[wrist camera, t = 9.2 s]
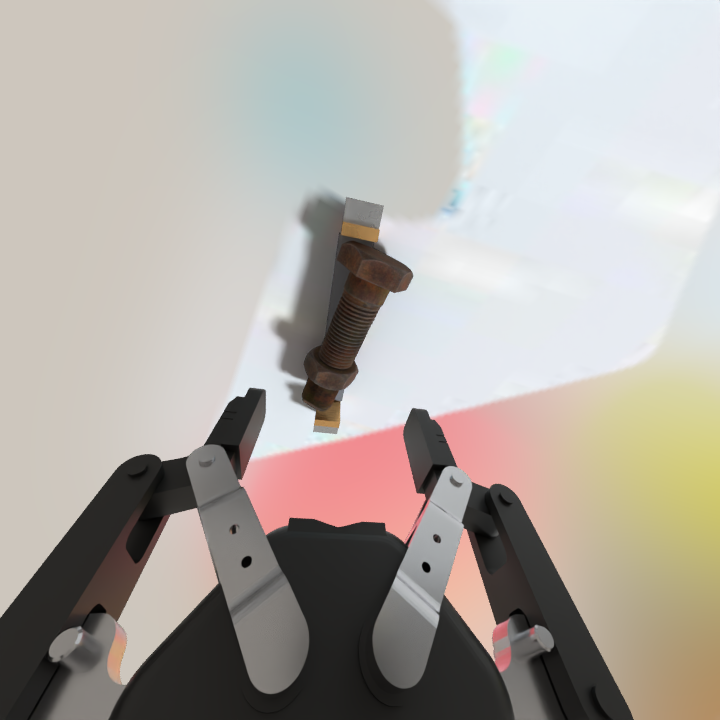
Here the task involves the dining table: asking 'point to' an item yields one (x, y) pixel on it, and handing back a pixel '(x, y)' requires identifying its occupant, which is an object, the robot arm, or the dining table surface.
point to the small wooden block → (328, 419)
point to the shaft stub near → (361, 220)
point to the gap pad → (340, 285)
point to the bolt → (351, 320)
